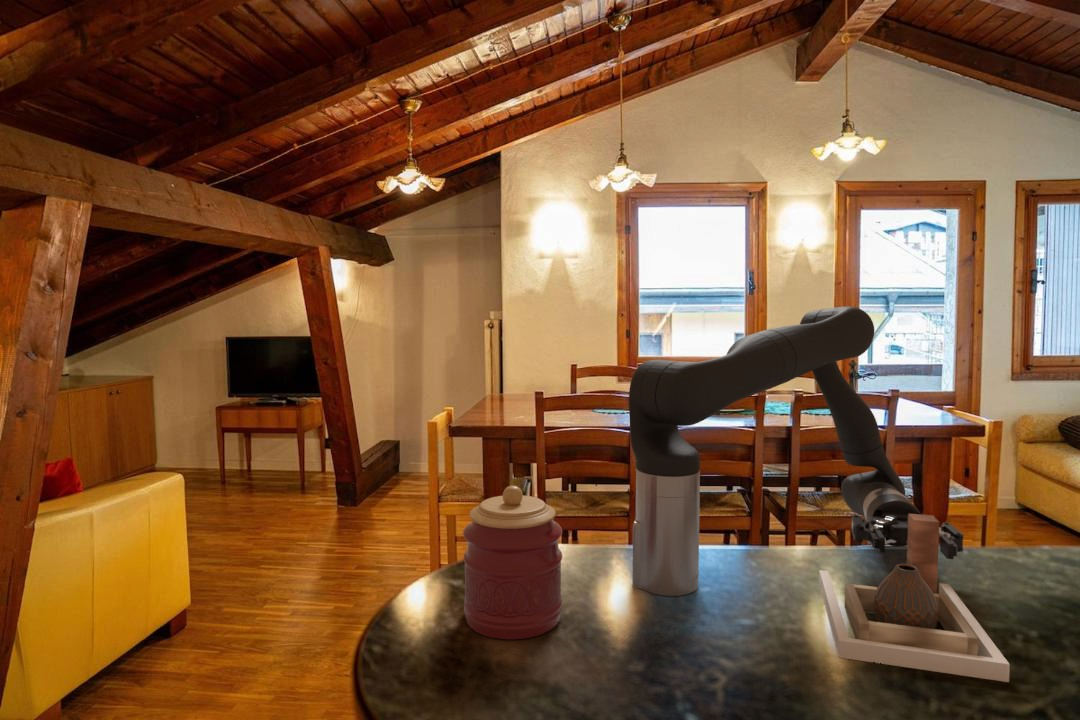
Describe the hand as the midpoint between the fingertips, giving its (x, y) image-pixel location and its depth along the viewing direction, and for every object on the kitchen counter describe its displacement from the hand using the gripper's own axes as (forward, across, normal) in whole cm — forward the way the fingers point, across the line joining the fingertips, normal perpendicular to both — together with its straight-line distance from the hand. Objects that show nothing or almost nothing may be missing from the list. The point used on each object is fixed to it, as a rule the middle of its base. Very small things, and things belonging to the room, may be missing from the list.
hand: (916, 549), depth 90 cm
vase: (+13, -4, +7) cm, 15 cm away
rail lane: (+9, -4, +7) cm, 12 cm away
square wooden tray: (+10, -4, +7) cm, 13 cm away
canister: (+23, -52, +7) cm, 57 cm away
